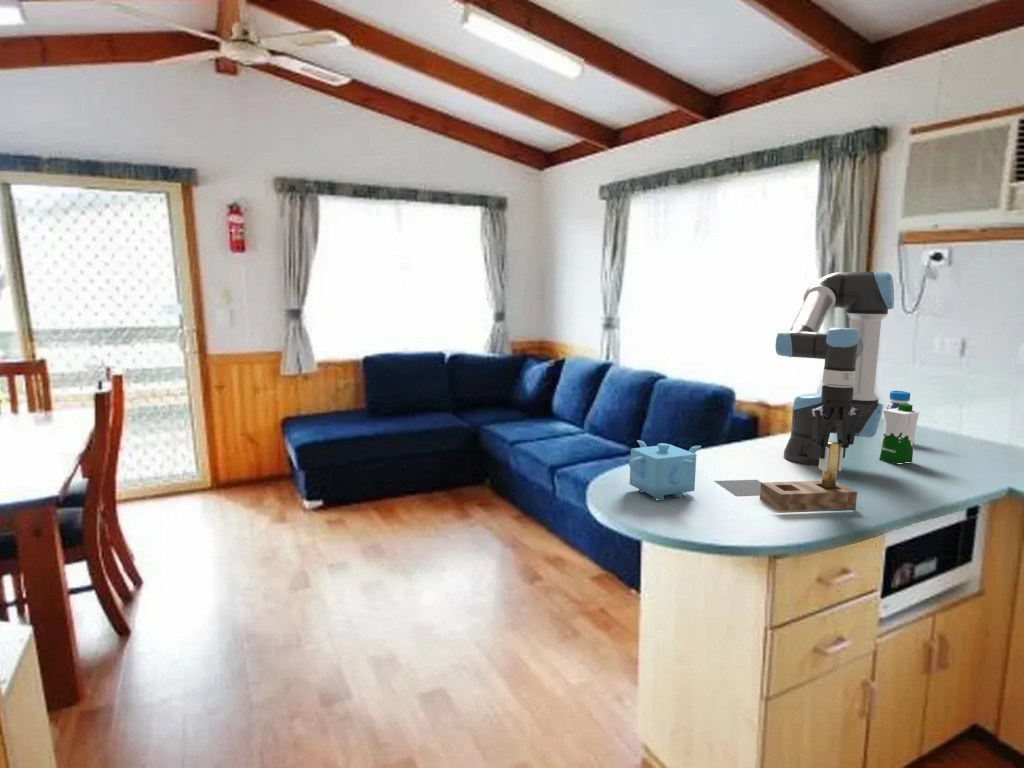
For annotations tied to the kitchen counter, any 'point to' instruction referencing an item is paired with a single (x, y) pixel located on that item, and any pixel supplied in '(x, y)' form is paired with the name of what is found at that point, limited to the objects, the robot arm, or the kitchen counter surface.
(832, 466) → the peg
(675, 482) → the teakettle
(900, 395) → the beverage bottle
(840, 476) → the kitchen counter surface
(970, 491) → the kitchen counter surface
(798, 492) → the hole block
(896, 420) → the milk carton
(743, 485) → the mat
